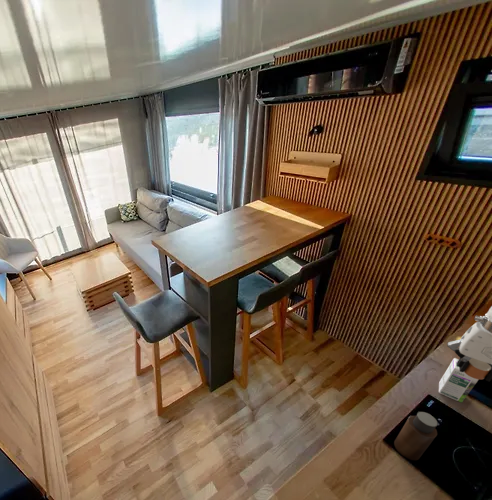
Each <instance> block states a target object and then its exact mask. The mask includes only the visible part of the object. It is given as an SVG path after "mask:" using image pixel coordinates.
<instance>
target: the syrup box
mask: <svg viewBox="0 0 492 500" xmlns="http://www.w3.org/2000/svg"><path fill="white" fill-rule="evenodd" d="M459 359H460V358H459ZM459 359H458V358H456V357H454V358H453V359H452V361H451V362H450V364H449V365H448V367H447V369H446V371H445V372H444V373H443V375H442V377H441V378H440V380H439V382H438V394H440V395H443V396H444V397H447V398H450V399H452V400H454V401H457V402H459V403H463V402H464V400H465V399H466V398H467V396H468V395H469V394H470V392H471V391H472V389H473V388H474V387H475V385H476V384H477V383H478V381H479V380H480V379H475V378H472V377H470V376H468V375H467V374H466V373H465V372H460V371H459V367H458V366H457V362H458V360H459Z"/></svg>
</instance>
